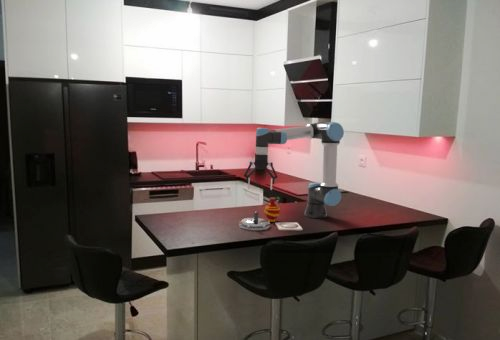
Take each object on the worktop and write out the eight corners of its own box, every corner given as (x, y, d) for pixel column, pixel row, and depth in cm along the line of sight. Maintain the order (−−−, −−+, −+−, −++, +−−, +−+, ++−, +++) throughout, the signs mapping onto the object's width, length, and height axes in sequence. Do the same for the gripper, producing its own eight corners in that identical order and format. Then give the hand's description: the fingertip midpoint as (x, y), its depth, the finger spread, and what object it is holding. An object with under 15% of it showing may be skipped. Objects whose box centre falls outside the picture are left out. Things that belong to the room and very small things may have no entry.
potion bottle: (268, 218, 274) (269, 195, 272) (282, 220, 269) (283, 197, 267) (260, 221, 265) (261, 198, 263) (275, 223, 260) (275, 200, 258)
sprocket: (267, 220, 261) (267, 206, 260) (271, 227, 245) (272, 213, 244) (238, 220, 259) (238, 206, 258) (240, 227, 243) (241, 213, 241)
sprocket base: (267, 222, 263) (267, 220, 263) (272, 230, 244) (272, 229, 244) (237, 222, 260) (237, 220, 260) (240, 230, 242) (240, 229, 242)
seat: (297, 224, 261) (297, 222, 261) (302, 230, 247) (302, 228, 247) (275, 224, 259) (275, 222, 259) (279, 230, 245) (279, 228, 245)
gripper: (281, 154, 249) (280, 188, 252) (240, 152, 249) (239, 187, 252) (283, 155, 242) (281, 190, 245) (240, 153, 242) (239, 189, 244)
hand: (260, 189), depth 248 cm, fingers open, 13 cm apart
